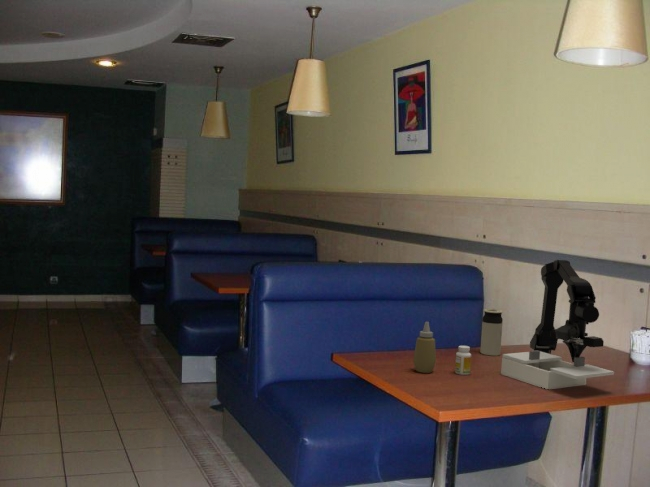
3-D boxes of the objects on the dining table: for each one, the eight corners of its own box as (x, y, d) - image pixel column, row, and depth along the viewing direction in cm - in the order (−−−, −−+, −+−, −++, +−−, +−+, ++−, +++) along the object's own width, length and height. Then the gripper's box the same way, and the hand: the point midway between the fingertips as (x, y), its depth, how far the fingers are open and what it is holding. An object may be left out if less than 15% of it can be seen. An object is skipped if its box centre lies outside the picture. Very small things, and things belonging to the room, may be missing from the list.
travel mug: (479, 354, 299) (482, 310, 298) (481, 351, 307) (484, 308, 305) (499, 356, 297) (502, 312, 295) (500, 353, 304) (503, 309, 303)
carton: (538, 370, 277) (539, 354, 276) (585, 384, 258) (587, 367, 257) (500, 374, 267) (502, 357, 266) (547, 389, 248) (548, 372, 248)
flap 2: (587, 367, 257) (588, 355, 257) (613, 374, 247) (614, 362, 247) (550, 371, 247) (550, 359, 247) (576, 379, 238) (577, 367, 238)
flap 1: (538, 353, 276) (539, 342, 276) (561, 359, 267) (562, 349, 266) (502, 356, 267) (503, 346, 266) (524, 363, 257) (525, 352, 257)
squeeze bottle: (438, 370, 267) (441, 321, 266) (431, 375, 260) (434, 324, 259) (416, 367, 271) (419, 319, 269) (409, 371, 263) (412, 322, 262)
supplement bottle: (471, 372, 267) (472, 346, 266) (468, 375, 262) (470, 348, 261) (456, 370, 269) (457, 344, 268) (453, 373, 264) (455, 347, 263)
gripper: (540, 314, 258) (537, 358, 259) (583, 323, 242) (580, 370, 243) (562, 313, 264) (559, 356, 265) (606, 322, 248) (602, 367, 249)
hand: (574, 362), depth 255 cm, fingers closed
